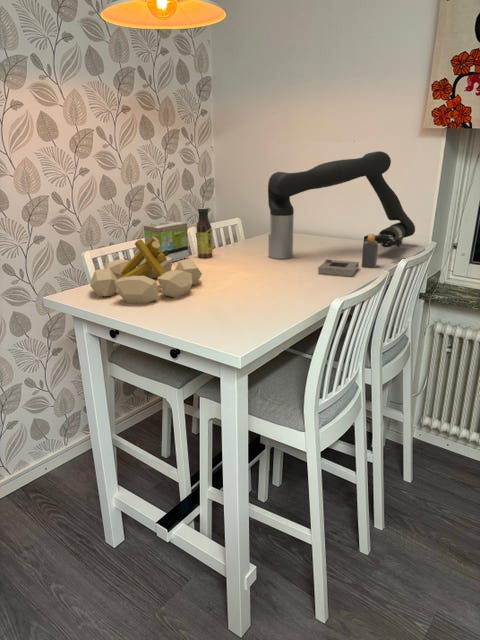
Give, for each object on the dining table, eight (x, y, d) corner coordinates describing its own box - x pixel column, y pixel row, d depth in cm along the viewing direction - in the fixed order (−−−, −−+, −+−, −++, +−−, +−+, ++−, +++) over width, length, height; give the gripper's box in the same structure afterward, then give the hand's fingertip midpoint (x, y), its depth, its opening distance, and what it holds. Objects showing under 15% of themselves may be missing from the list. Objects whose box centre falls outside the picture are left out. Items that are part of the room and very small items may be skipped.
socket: (318, 274, 175) (318, 265, 174) (326, 266, 185) (326, 258, 184) (351, 277, 170) (352, 268, 169) (358, 268, 181) (358, 260, 180)
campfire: (219, 282, 168) (217, 233, 162) (153, 312, 141) (148, 254, 135) (143, 270, 186) (139, 225, 180) (71, 294, 159) (64, 242, 153)
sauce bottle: (212, 258, 200) (210, 209, 193) (196, 258, 201) (194, 209, 194) (213, 254, 207) (211, 206, 200) (198, 255, 207) (196, 207, 200)
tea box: (163, 265, 191) (160, 227, 186) (145, 262, 197) (142, 225, 192) (189, 258, 202) (187, 222, 197) (172, 255, 208) (169, 220, 203)
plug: (361, 267, 183) (363, 235, 178) (363, 264, 187) (366, 233, 182) (374, 268, 181) (376, 236, 177) (376, 265, 185) (378, 233, 181)
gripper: (373, 225, 202) (359, 232, 190) (408, 228, 195) (396, 235, 182) (372, 243, 205) (358, 251, 192) (406, 247, 198) (394, 255, 185)
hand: (377, 243), depth 187 cm, fingers open, 8 cm apart
